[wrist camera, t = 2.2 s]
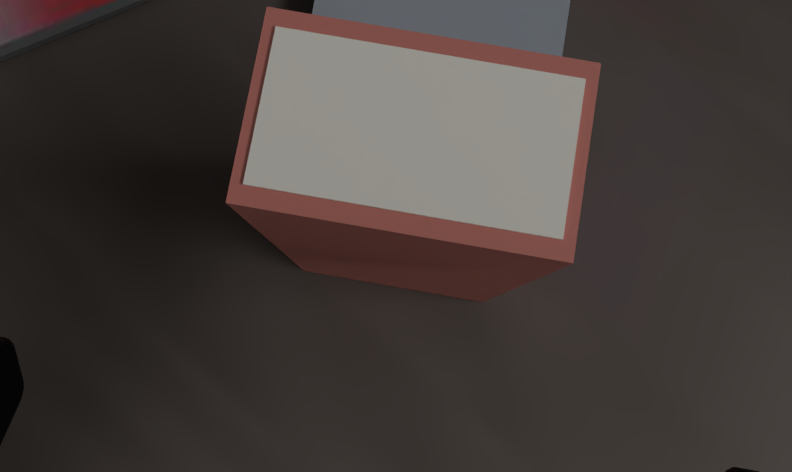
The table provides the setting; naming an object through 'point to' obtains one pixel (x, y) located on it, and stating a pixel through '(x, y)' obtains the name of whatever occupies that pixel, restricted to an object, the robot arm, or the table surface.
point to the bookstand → (464, 19)
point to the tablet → (50, 20)
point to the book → (413, 155)
